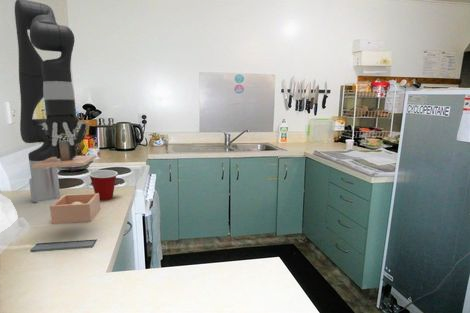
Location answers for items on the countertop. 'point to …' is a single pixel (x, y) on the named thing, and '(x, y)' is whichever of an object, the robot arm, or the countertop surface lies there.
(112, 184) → the plastic cup
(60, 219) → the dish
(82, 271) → the countertop surface
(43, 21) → the robot arm
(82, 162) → the lid
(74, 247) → the mat
